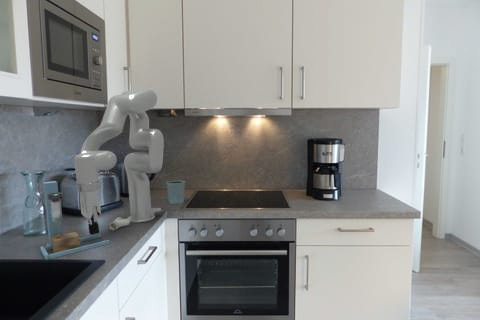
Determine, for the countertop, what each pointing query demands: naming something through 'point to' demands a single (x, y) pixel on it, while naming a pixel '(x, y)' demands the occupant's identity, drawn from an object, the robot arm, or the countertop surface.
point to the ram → (56, 206)
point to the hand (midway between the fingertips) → (94, 233)
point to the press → (57, 227)
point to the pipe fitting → (118, 223)
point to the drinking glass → (176, 191)
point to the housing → (65, 242)
